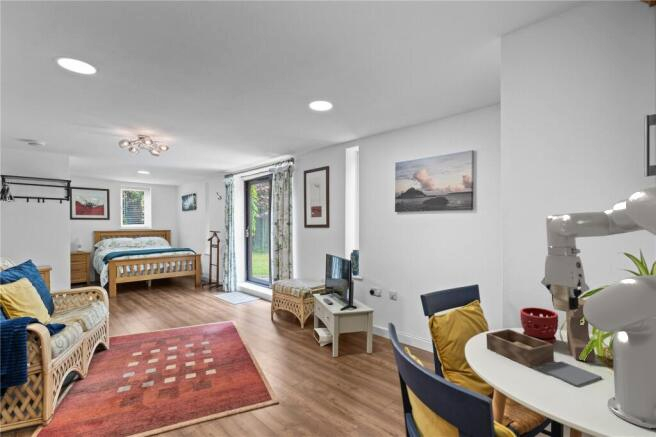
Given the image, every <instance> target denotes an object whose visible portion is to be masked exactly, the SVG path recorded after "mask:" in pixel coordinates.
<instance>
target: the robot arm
mask: <svg viewBox="0 0 656 437" xmlns="http://www.w3.org/2000/svg"><path fill="white" fill-rule="evenodd" d="M545 227H546V242H547V255H546V257H545V262H544V277H543V278H542V280H541V283H540V284H541V285H542V286H544V287H546V289H547V290H548V291H549V294H550V295H551V302H552V306H553V307H554V304H553V289H552V285H558V286H564V287H568V288H569V292H570V296H571V297H569V306H570V310H575V309H578V306H579V303H578V298H580V297H581V296H582V295H583V294H584V293H585V292H588V291H589V290H590V288H591V287H589V285H588V284H587V283H586V279H585V278H586V276H585V272H584V266H583V263H582V259H581V257H580V256H577V255H578V254H580V253H581V249H580V248H577V244H576V243H577V242H576V238H588V237H589V238H591V237H592V238H593V237H606V236H613V235H619V234H627V233H633V232H634V233H635V232H638V231H639V232H640V231H647V232H649V233H650V234H652V235H654V236H656V187H645V188H642V189H640V190H637V191H636V192H634V193H633V194H631V195H630V196H629V198H625V199H620V200H619V201H617V202H616V203H615V204H614V206H613V207H612V209H608V210H604V211H595V212H594V211H590V212H589V211H588V212H572V213H571V212H569V213H564V214H552V215H551V214H550V215H548V216H547V217H546V218H545ZM583 314H584V317H585V319H586V320H587V322H588V325H590V326H592V327H593V328H594V329H596V330H597V331H601V332H604V333H614V335H613V338H612V359H613V360H612V362H613V363H612V364H613V379H614V380H613V384H614V397H610V398H609V399H607V407H608V409H609V410H610V411H611V412H612V413H613V414H614V415H615V416H617V417H619V418H621V419H622V420H625V421H627V422H629V423H632V424H634V425H637V426H638V427H639V426H640V427H643V428H647V429H651V428H656V274H649V275H648V274H644V275H635V276H630V277H629V276H628V277H626V278H622V279H620V280H618V281H616V282H614V283H612V284H610V285H608V286H606V287H605V288H602V289H600V290H598V291H597V292H594V293H593V294H591V295H590V296H589V297H587V299H585V303H584V306H583Z"/></svg>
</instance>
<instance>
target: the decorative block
mask: <svg viewBox="0 0 656 437" xmlns="http://www.w3.org/2000/svg"><path fill="white" fill-rule="evenodd" d="M585 301H586V299H583V298H582V297H581V298H580V297H578V303H579V307H578V309H577V311H576V312H575V311H572V312H565V319H566V339H567V340H566V341H567V349H568V351H569V352H570V354H571V355H572V356H573V358H574V359H575V360H576V361H579V360H580V359H579V356H580V354H581V352H582V351H583V349H584V348H585V347H586V345H587V344H588V342H589V341H591V338H590V334H589V333H590V332H589V323H588V322H587V320H586V319H585V323H584V325H580V320H581V319H582V318H583V317H584V314H583V306H584V303H585ZM569 318H570V319H569ZM582 322H583V321H581V323H582ZM595 354H596V353H595V348H594V347H593V349H592V351H591V352H590V353H589V354H588V355H587V357H586V359H585V361H584V362H588V363H589V362H590V363H595V362H596V356H595Z"/></svg>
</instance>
